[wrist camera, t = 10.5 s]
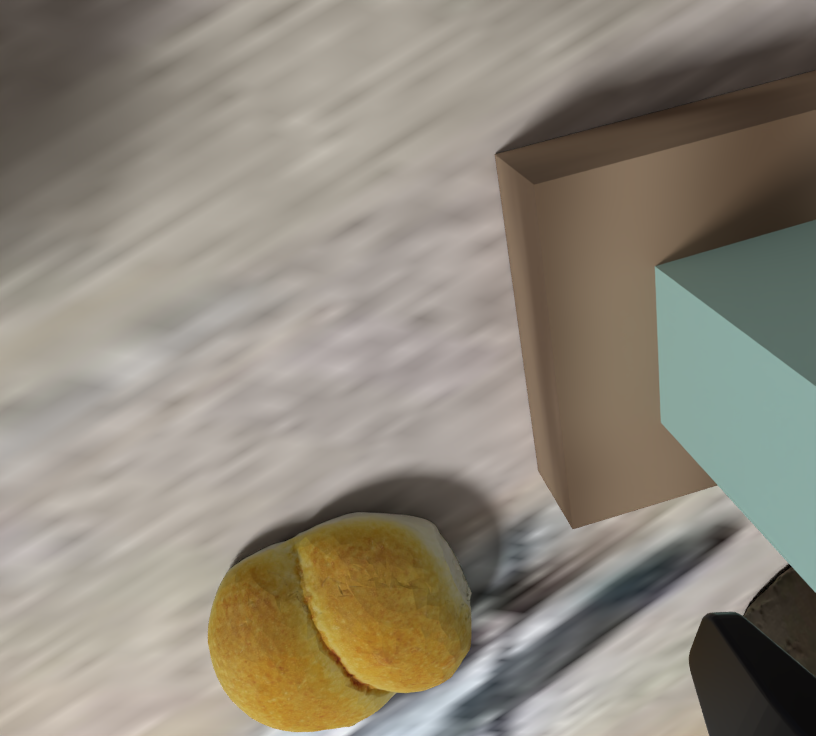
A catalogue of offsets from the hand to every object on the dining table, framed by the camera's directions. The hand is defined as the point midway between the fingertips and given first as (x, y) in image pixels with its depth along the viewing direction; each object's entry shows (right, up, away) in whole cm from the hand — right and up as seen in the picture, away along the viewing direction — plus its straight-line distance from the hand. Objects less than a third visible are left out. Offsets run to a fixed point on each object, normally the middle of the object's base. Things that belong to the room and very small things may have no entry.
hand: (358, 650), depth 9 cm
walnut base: (+9, +6, +14) cm, 18 cm away
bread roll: (-2, -4, +18) cm, 18 cm away
